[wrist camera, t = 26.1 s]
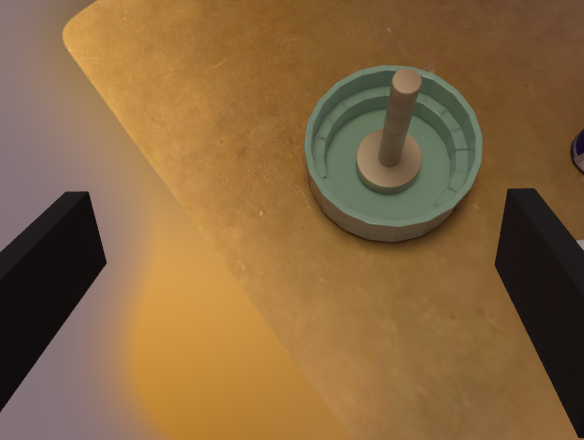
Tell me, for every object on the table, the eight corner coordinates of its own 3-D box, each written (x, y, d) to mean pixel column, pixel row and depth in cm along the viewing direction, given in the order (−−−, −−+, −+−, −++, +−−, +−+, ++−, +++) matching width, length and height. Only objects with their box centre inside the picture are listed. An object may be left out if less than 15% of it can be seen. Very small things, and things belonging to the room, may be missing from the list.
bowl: (358, 272, 48) (361, 258, 42) (281, 143, 52) (274, 115, 46) (497, 194, 48) (519, 170, 43) (410, 74, 53) (419, 38, 47)
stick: (376, 205, 48) (392, 135, 34) (344, 155, 50) (346, 68, 36) (430, 175, 49) (469, 93, 34) (397, 126, 51) (420, 28, 36)
